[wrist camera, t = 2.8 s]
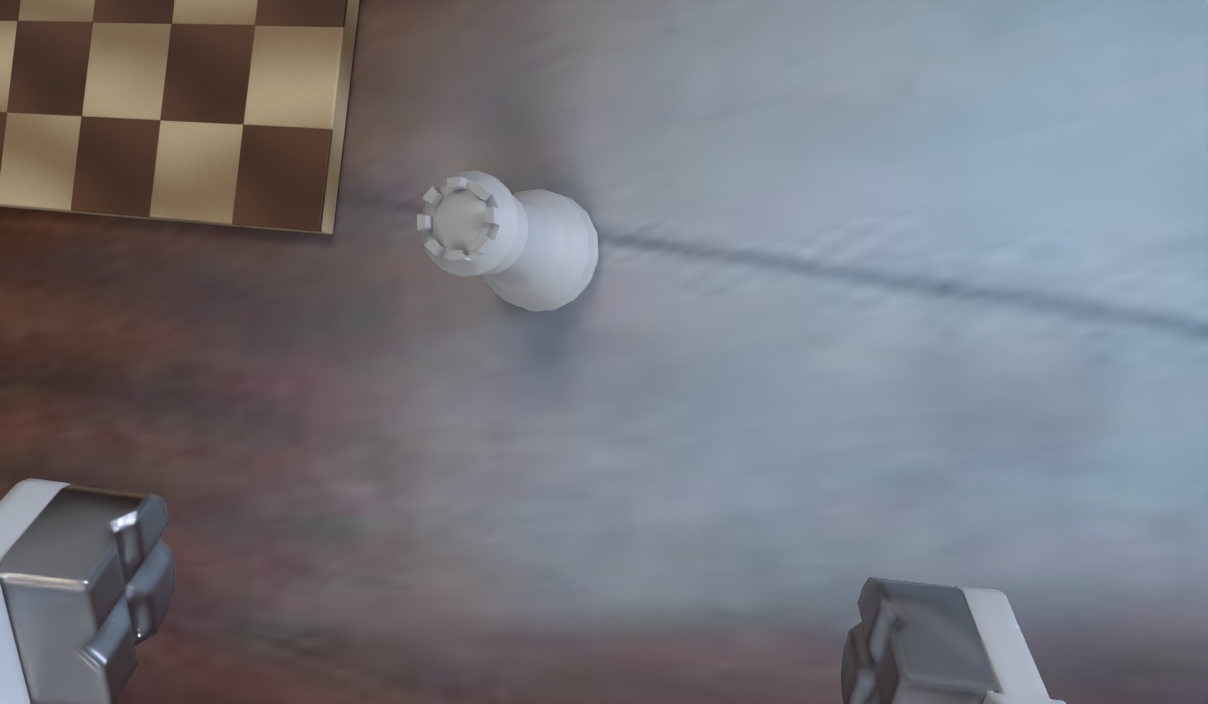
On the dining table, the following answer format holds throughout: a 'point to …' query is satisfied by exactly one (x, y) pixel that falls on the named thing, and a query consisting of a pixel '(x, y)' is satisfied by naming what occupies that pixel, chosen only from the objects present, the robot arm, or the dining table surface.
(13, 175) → the chessboard
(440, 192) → the rook chess piece
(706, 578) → the dining table surface
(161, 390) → the dining table surface
